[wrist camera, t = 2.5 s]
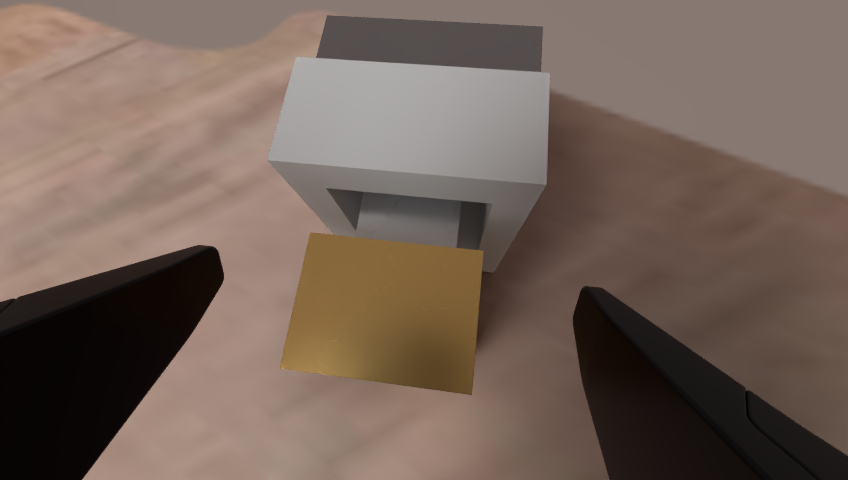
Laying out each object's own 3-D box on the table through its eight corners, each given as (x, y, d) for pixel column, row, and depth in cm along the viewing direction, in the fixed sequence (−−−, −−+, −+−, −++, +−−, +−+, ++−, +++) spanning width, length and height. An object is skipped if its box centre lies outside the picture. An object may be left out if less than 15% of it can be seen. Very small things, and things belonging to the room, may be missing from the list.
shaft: (458, 375, 15) (471, 395, 7) (358, 362, 15) (279, 368, 8) (480, 133, 18) (504, -18, 11) (398, 126, 18) (368, -24, 11)
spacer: (504, 186, 16) (540, 84, 10) (360, 174, 17) (313, 69, 11) (506, 146, 17) (542, 26, 11) (368, 135, 17) (327, 15, 11)
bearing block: (494, 272, 17) (546, 184, 8) (355, 257, 17) (267, 159, 9) (498, 211, 18) (549, 72, 9) (366, 198, 18) (296, 56, 10)
